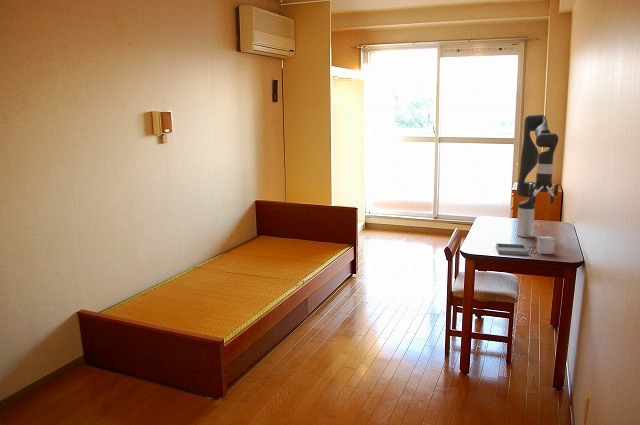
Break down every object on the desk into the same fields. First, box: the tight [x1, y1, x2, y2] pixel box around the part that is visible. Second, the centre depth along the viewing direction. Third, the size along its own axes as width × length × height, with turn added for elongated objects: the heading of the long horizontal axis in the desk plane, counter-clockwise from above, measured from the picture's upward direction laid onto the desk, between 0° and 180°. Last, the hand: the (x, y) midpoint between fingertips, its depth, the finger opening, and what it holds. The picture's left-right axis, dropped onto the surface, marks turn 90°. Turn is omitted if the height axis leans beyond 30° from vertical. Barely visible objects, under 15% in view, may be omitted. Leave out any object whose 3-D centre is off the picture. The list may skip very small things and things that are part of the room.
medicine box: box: [535, 236, 556, 255], centre depth 281 cm, size 8×4×9 cm, turn 92°
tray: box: [495, 242, 530, 257], centre depth 286 cm, size 15×15×2 cm
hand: (542, 203), depth 274 cm, fingers open, 8 cm apart
